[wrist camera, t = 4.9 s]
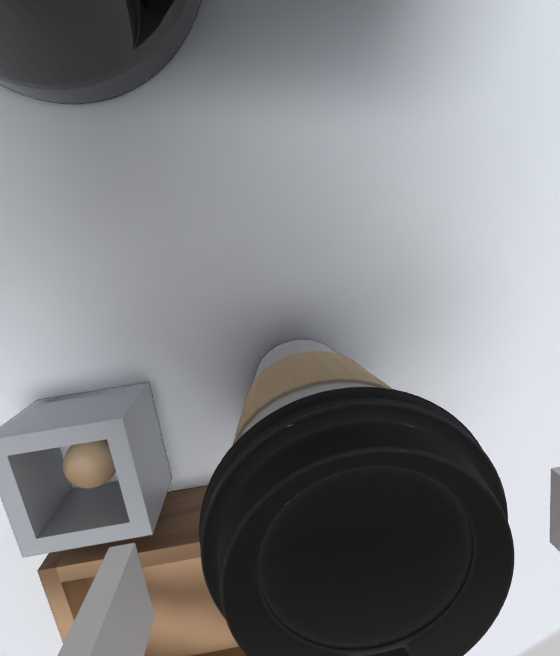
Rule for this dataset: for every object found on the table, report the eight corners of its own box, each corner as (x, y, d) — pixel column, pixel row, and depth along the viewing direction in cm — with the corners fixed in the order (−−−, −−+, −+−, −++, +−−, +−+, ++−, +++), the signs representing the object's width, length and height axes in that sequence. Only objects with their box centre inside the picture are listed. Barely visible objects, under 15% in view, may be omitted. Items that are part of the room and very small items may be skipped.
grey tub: (36, 400, 23) (-20, 441, 18) (148, 382, 24) (122, 418, 19) (67, 496, 25) (22, 557, 20) (171, 478, 25) (152, 534, 20)
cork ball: (71, 429, 23) (45, 456, 20) (120, 421, 23) (101, 447, 20) (84, 472, 24) (60, 504, 21) (131, 464, 24) (114, 494, 21)
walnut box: (78, 507, 25) (37, 571, 20) (283, 472, 26) (290, 525, 21) (127, 664, 28) (101, 751, 24) (308, 630, 29) (319, 708, 24)
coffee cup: (283, 470, 26) (324, 768, 11) (196, 366, 24) (107, 566, 9) (396, 392, 25) (599, 600, 10) (318, 278, 23) (434, 340, 8)
